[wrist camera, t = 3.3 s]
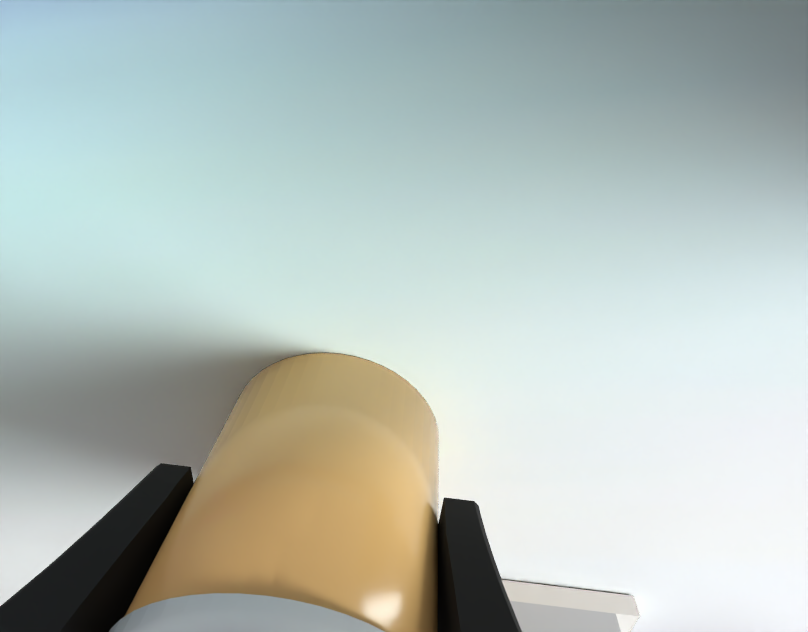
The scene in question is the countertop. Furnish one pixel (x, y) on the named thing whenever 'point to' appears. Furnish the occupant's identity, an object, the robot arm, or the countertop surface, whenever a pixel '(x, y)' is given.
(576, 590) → the tray
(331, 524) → the amber jar
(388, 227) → the countertop surface
